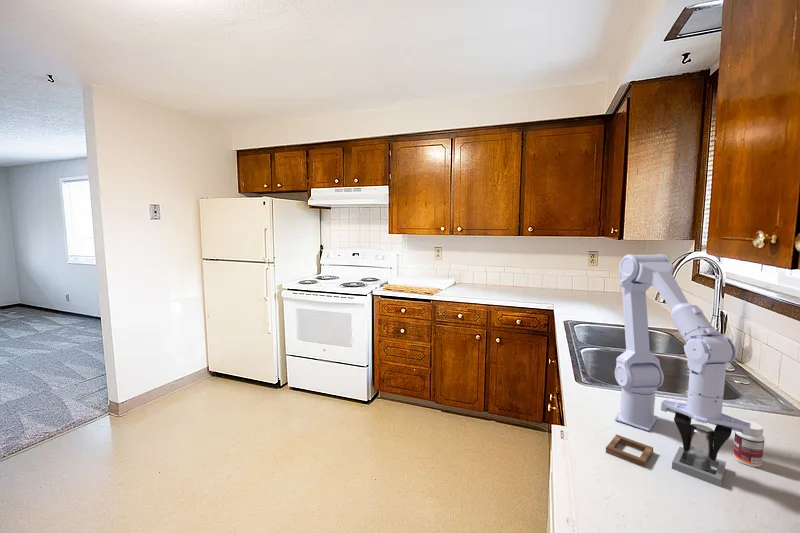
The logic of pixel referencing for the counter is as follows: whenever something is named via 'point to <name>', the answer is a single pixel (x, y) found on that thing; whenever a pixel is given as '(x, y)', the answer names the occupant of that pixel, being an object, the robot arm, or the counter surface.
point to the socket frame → (626, 456)
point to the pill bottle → (749, 446)
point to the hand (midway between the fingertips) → (699, 453)
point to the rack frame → (699, 473)
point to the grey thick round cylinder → (700, 446)
